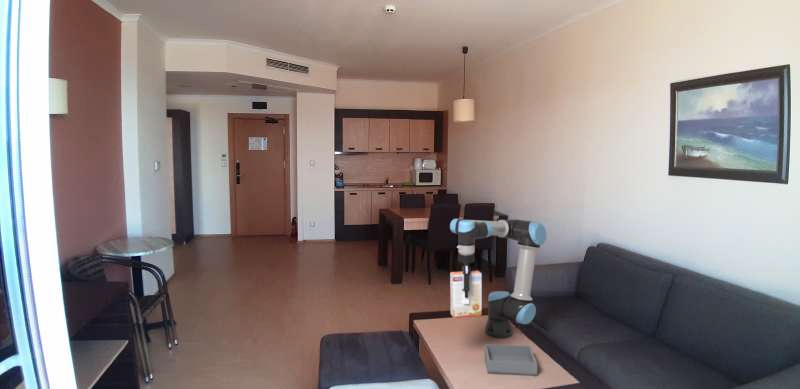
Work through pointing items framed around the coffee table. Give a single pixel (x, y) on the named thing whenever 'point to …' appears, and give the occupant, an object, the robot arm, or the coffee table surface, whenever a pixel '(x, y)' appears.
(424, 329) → the coffee table surface
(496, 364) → the pantry crate
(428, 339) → the coffee table surface
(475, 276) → the cracker box
